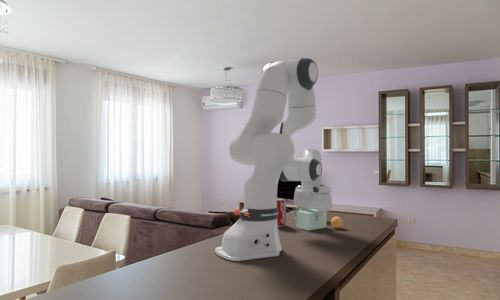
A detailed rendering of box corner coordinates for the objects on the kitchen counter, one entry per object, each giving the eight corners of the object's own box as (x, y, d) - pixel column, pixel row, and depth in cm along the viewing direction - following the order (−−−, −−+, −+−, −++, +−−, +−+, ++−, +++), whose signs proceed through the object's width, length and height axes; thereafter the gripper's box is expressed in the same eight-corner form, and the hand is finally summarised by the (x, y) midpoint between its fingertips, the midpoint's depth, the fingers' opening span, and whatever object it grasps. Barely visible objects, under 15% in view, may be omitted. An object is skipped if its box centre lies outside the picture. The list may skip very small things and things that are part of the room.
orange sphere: (337, 230, 143) (337, 218, 143) (328, 227, 147) (328, 216, 147) (345, 228, 146) (345, 217, 146) (336, 226, 150) (336, 215, 150)
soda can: (285, 224, 155) (285, 198, 155) (286, 227, 148) (285, 200, 148) (270, 224, 156) (270, 197, 156) (269, 227, 149) (269, 199, 149)
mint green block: (308, 230, 142) (308, 213, 142) (296, 227, 148) (296, 211, 148) (326, 227, 148) (326, 211, 148) (314, 224, 154) (314, 208, 154)
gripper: (290, 185, 155) (290, 216, 155) (323, 189, 138) (323, 223, 138) (300, 184, 159) (300, 214, 158) (334, 188, 142) (334, 222, 141)
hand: (311, 219), depth 148 cm, fingers closed on mint green block, 7 cm apart
